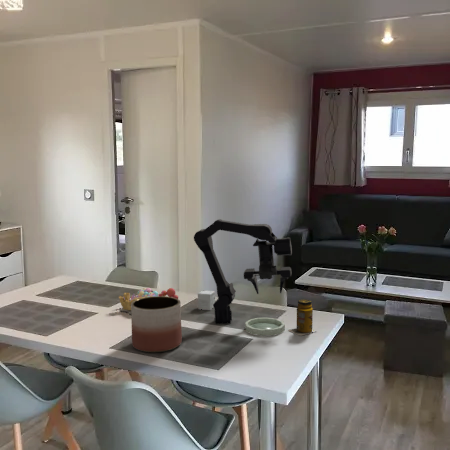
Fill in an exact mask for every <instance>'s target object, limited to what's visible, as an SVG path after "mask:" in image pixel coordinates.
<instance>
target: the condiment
mask: <svg viewBox="0 0 450 450" xmlns="http://www.w3.org/2000/svg"><path fill="white" fill-rule="evenodd" d="M312 304H313V302H312V300H310V299H304V298H303V299H298V300H297V307H296V328H292V329H288V331H289V332H291V333H293V334H295V335H297V336H300V337H302V336H305V335H309V333H310V334H312V333H311V332H312V330H313V315H314V314H313V311H314V309H313V307H312ZM307 333H308V334H307Z"/></svg>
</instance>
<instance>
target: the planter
mask: <svg viewBox="0 0 450 450" xmlns="http://www.w3.org/2000/svg"><path fill="white" fill-rule="evenodd" d="M130 316H131V344H132V347H134V349H136V350H137V351H140V352H144V353H164V352H168V351H172V350H174V349H176V348H177V347H179V346H180V345H181V344H182V340H183V339H182V337H183V336H182V335H183V334H182V311H181V300H180V299H179V298H178V299H176V298H173V297H169V296H167V295H166V296H154V297H146V298H141V299H138V300H135V301H133V302H132V303H131V314H130Z"/></svg>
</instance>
